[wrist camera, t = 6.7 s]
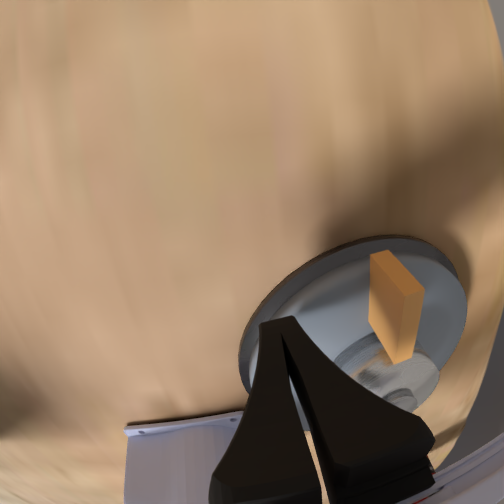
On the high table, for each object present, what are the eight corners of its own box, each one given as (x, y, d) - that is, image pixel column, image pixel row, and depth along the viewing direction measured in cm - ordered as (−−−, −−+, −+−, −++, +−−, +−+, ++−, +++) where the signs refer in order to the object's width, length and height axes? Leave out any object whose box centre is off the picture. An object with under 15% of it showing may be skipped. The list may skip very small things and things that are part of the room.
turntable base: (262, 430, 22) (263, 435, 22) (206, 276, 15) (206, 283, 14) (434, 373, 22) (436, 377, 22) (471, 210, 15) (476, 213, 15)
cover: (325, 407, 18) (341, 454, 15) (323, 347, 15) (346, 404, 12) (408, 378, 18) (431, 418, 15) (424, 314, 15) (458, 358, 12)
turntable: (434, 378, 22) (457, 416, 18) (269, 434, 21) (279, 482, 18) (474, 210, 14) (527, 247, 10) (214, 276, 14) (220, 347, 10)
